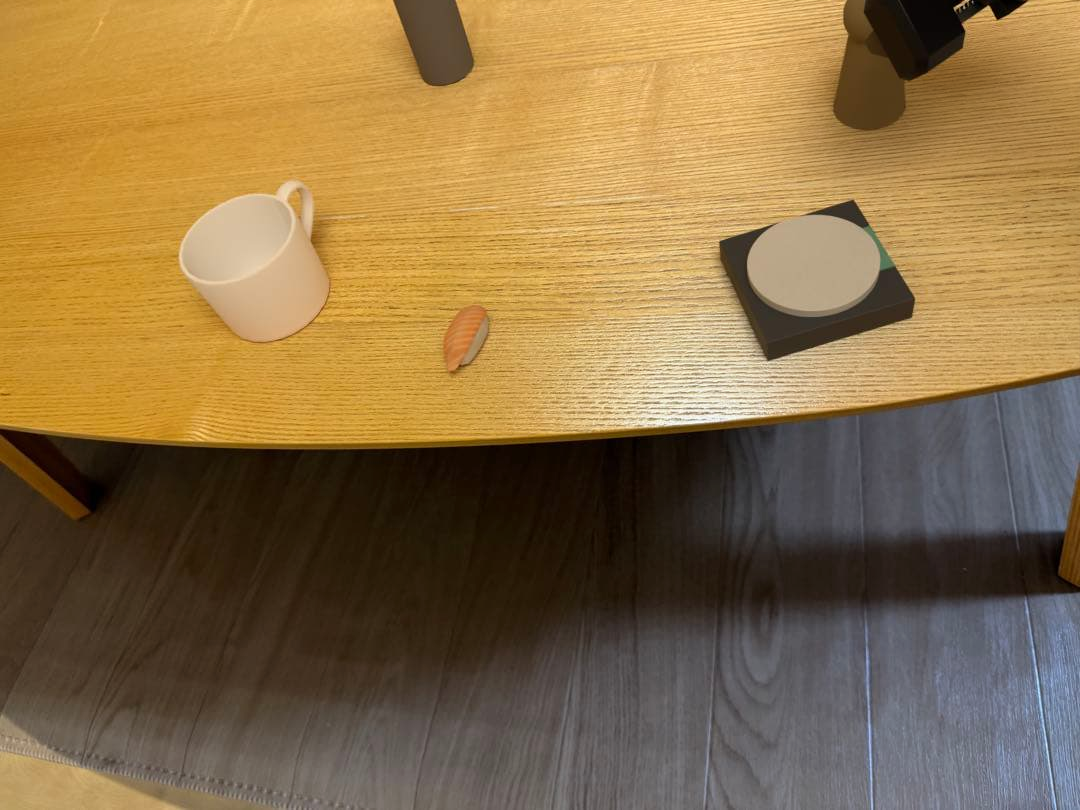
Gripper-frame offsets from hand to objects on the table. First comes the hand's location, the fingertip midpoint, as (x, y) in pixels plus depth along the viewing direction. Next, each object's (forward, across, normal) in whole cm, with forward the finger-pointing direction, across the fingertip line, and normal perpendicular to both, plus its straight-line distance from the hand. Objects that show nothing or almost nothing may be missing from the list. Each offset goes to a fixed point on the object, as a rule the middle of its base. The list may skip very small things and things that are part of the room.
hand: (912, 16), depth 72 cm
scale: (+2, +18, +13) cm, 22 cm away
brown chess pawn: (+10, 0, +5) cm, 11 cm away
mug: (+25, +50, -10) cm, 56 cm away
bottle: (+36, +22, -21) cm, 47 cm away
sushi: (+12, +41, +3) cm, 43 cm away
